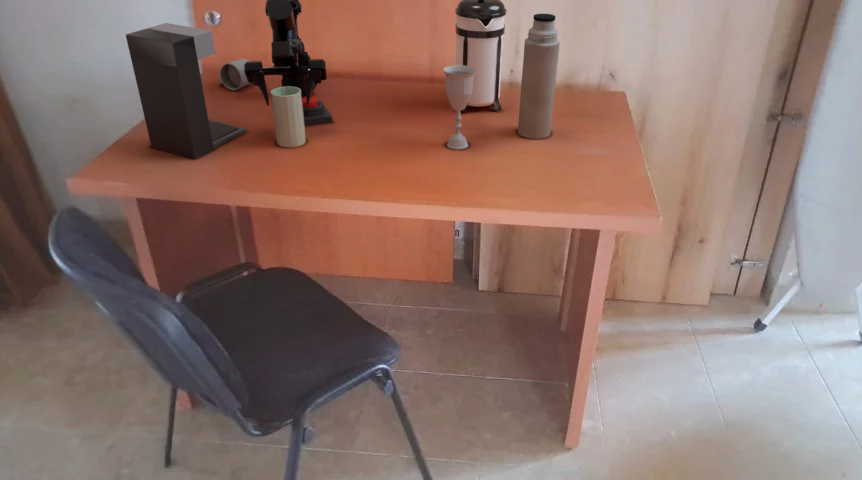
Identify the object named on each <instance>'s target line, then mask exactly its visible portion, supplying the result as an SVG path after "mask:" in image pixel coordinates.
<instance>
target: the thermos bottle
mask: <svg viewBox="0 0 862 480" xmlns="http://www.w3.org/2000/svg"><path fill="white" fill-rule="evenodd" d="M532 19H533V21H532V27H530V28H529V29H528V33H527V37H526V38H525V39H524V45H523V47H524V48H523V59H522V70H521V71H522V72H521V85H520V96H519V111H518V122H517V125H518V126H517V133H518V135H520V137H523V138H527V139H532V140H533V139H535V140H539V139H540V140H541V139H545V138H548V137H549V136H550V135H551V132H552V131H551V130H552V120H553V110H554V101H555V93H556V81H557V74H558V63H559V54H560V45H561V44H560V43H561V41H560V40H559V39H558V36H559V33H558V32H559V31H558V30H557V28H555V25H556V24H555V23H556V22H555V20H556V15H554V14H551V13H536V14H533V18H532Z"/></svg>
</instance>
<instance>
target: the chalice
mask: <svg viewBox="0 0 862 480" xmlns="http://www.w3.org/2000/svg"><path fill="white" fill-rule="evenodd" d="M442 71H443V72H444V74H445V81H444V83H445V85H444V86H445V87H444V91H445V94H446V98H447V100H448V102H449V104H450V106H451V108H452V110H454V111H455V113H456V114H455V117H454V119H455V124H454V125H453V127H455V133H453V134H452V135H451V136H450V137H449V139H448V141H447V143H446V147H448V148H449V149H452V150H464V149H467V148H468V147H469V143H468V140H467V138H466V135H464V134H463V133H461V128H462V127H463V125H462V124H461V120H462V119H463V117H462V115H461V113H462V112H461V110H463V109H465V107H466V105H467V103H468V101H469V100H470V97H471V94H472V92H473V75H474V73H475V71H476V69H475V68H473V67H470V66H464V65H456V64H454V65H447V66H445V67H444V68H443V70H442Z"/></svg>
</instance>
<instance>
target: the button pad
mask: <svg viewBox="0 0 862 480" xmlns="http://www.w3.org/2000/svg"><path fill="white" fill-rule="evenodd" d="M317 101H318V106H317V107H314V108H303V114H304V124H305V127H307V126H316V125H323V124H330V123H331V124H332V123H333V115H332V114H331V112H330V111H329V109H328V108H327V107H326V105H325V103H324V102H323V101H321V100H318V99H317Z"/></svg>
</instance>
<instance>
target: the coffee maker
mask: <svg viewBox="0 0 862 480" xmlns="http://www.w3.org/2000/svg"><path fill="white" fill-rule="evenodd" d="M125 39H126V42H127V47H128V51H129V56H130V60H131V65H132V67H133V68H132V69H133V73H134V77H135V82H136V86H137V91H138V95H139V100H140V104H141V108H142V112H143V117H144V120H145V121H144V122H145V127H146V129H147V134H148V138H149V143H150V147H151V148H154V149H158V150H161V151H165V152H168V153H172V154H174V155H179V156H183V157H187V158H190V159H194V160H196V159H198V158H200V157H202V156H205V155H206V154H208V153H210V152H212V151H214V150H215V149H216V148H218V147H220V146H221V145H224V144H226V143H228V142H230V141H232V140H234V139H235V138H237V137H239V136H241V135H244V134H245V133H247V132H248V131H247V127H241V126H237V125H233V124H230V123H226V122H221V121H217V120H212V119H209V116H208V115H209V114H208V110H207V105H206V104H207V103H206V99H205V93H204V88H203V82H202V76H201V71H200V65H199V60H201V59H204V58H207V57H210V56H212V55H216V48H215V42H214V36H213V30H209V29H203V28H198V27H193V26H192V27H191V26H186V25H180V24H174V23H169V22H165V23H160V24H157V25H153V26H150V27H148V28H143V29H140V30H136V31H133V32H130V33H126V34H125Z"/></svg>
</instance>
